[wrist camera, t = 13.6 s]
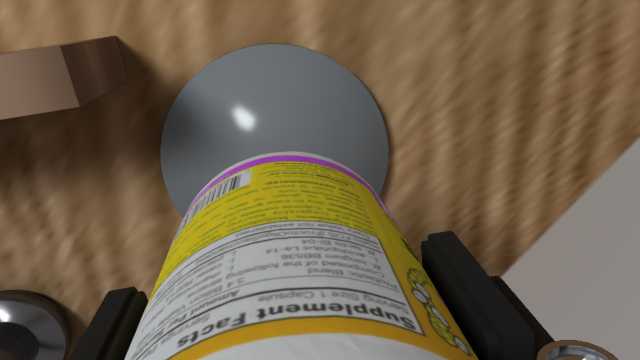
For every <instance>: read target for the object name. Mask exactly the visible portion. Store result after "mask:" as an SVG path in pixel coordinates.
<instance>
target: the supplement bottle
mask: <svg viewBox="0 0 640 360" xmlns="http://www.w3.org/2000/svg"><path fill="white" fill-rule="evenodd" d="M124 360H478V358H477V356H476V355H475V353H474V351H473V350H472V348H471V346H470V345H469V343H468V342H467V340H466V338H465V337H464V335H463V333H462V332H461V330H460V328H459V327H458V325H457V323H456V322H455V320H454V318H453V317H452V315H451V313H450V311H449V310H448V308H447V306H446V305H445V303H444V302H443V300H442V298H441V297H440V295H439V293H438V292H437V290H436V288H435V287H434V285H433V283H432V282H431V280H430V279H429V277H428V275H427V273H426V271H425V270H424V268H423V267H422V265H421V264H420V262H419V260H418V258H417V257H416V255H415V253H414V252H413V250H412V248H411V247H410V245H409V243H408V242H407V240H406V239H405V237H404V235H403V234H402V232H401V230H400V229H399V227H398V226H397V224H396V222H395V220H394V219H393V217H392V215H391V214H390V212H389V210H388V209H387V207H386V206H385V204H384V203H383V201H382V200H381V199H380V197H379V196H378V195H377V193H376V192H375V191H374V189H373V188H372V187H371V186H370V185H369V184H368V183H367V182H366V181H365V180H364V179H363V178H362V177H360V176H359V175H358V174H357V173H356V172H354V171H353V170H351V169H350V168H348V167H346V166H345V165H343V164H341V163H339V162H336V161H334V160H332V159H330V158H326V157H323V156H320V155H316V154H312V153H306V152H293V151H288V152H274V153H268V154H263V155H258V156H255V157H252V158H249V159H246V160H244V161H241V162H239V163H236V164H235V165H233V166H231V167H229V168H227V169H226V170H224V171H223V172H221V173H220V174H218V175H217V176H216V177H214V178H213V179H212V180H211V181H210V182H209V183H208V184H207V185H206V186H205V187H204V188H203V189H202V190H201V191H200V192H199V193H198V195H197V196H196V198H195V199H194V200H193V202H192V203H191V205H190V207H189V209H188V210H187V212H186V214H185V216H184V218H183V220H182V222H181V224H180V226H179V229H178V231H177V233H176V236H175V238H174V240H173V243H172V245H171V248H170V250H169V253H168V255H167V258H166V260H165V262H164V265H163V267H162V270H161V273H160V275H159V277H158V280H157V282H156V284H155V287H154V289H153V292H152V294H151V297H150V299H149V301H148V304H147V306H146V309H145V311H144V313H143V316H142V318H141V321H140V323H139V325H138V328H137V331H136V333H135V336H134V338H133V340H132V343H131V345H130V347H129V350H128V352H127V355H126V357H125V359H124Z"/></svg>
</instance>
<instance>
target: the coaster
mask: <svg viewBox="0 0 640 360" xmlns="http://www.w3.org/2000/svg"><path fill="white" fill-rule="evenodd" d="M288 151H293V152H306V153H312V154H316V155H320V156H323V157H326V158H330V159H332V160H334V161H336V162H339V163H341V164H343V165H345V166H346V167H348V168H350V169H351V170H353V171H354V172H356V173H357V174H358V175H359V176H360V177H362V178H363V179H364V180H365V181H366V182H367V183H368V184H369V185H370V186H371V187H372V188H373V189H374V191H375V192H376V193H377V195H378V196H380V193H381V190H382V188H383V185H384V182H385V178H386V174H387V168H388V158H389V152H388V139H387V133H386V128H385V125H384V121H383V118H382V115H381V113H380V111H379V109H378V106H377V104H376V102H375V101H374V99H373V98H372V96H371V94H370V93H369V91H368V90H367V89H366V88H365V86H364V85H363V84H362V83H361V82H360V81H359V79H358V78H357V77H355V76H354V75H353V74H352V73H351V72H350V71H349V70H348V69H346V68H345V67H344V66H342V65H341V64H339V63H338V62H336V61H335V60H333V59H332V58H330V57H328V56H326V55H323V54H321V53H319V52H317V51H314V50H311V49H308V48H305V47H301V46H295V45H290V44H275V43H270V44H259V45H253V46H248V47H244V48H240V49H237V50H235V51H232V52H230V53H227V54H225V55H223V56H221V57H219V58H217V59H216V60H214V61H212V62H211V63H209V64H208V65H207V66H205V67H204V68H203V69H201V70H200V71H199V72H198V73H197V74H196V75H195V76H194V77H193V78H192V79H191V80H190V81H189V82H188V83H187V84H186V85H185V86H184V88H183V89H182V90H181V92H180V93H179V94H178V96H177V97H176V99H175V101H174V103H173V105H172V106H171V108H170V110H169V113H168V116H167V118H166V121H165V124H164V128H163V133H162V137H161V149H160V157H161V169H162V174H163V179H164V183H165V185H166V188H167V191H168V194H169V196H170V198H171V200H172V202H173V204H174V206H175V208H176V209H177V210H178V212H179V213H180V215H181V216H182V218H184V216H185V214H186V212H187V210H188V209H189V207H190V205H191V203H192V202H193V200H194V199H195V198H196V196H197V195H198V193H199V192H200V191H201V190H202V189H203V188H204V187H205V186H206V185H207V184H208V183H209V182H210V181H211V180H212V179H213V178H214V177H216V176H217V175H218V174H220V173H221V172H223V171H224V170H226V169H227V168H229V167H231V166H233V165H235V164H236V163H239V162H241V161H244V160H246V159H249V158H252V157H255V156H258V155H263V154H268V153H274V152H288Z"/></svg>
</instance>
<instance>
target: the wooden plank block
mask: <svg viewBox="0 0 640 360" xmlns="http://www.w3.org/2000/svg"><path fill="white" fill-rule="evenodd" d="M126 82H128V78H127V74H126V71H125V67H124V64H123V60H122V57H121V53H120V50H119V46H118V43H117V39H116V36H111V37H104V38H98V39H91V40H85V41H78V42H72V43H65V44H59V45H52V46H46V47H39V48H33V49H27V50H20V51H14V52H7V53H1V54H0V120H1V119H8V118H14V117H20V116H26V115H32V114H39V113H45V112H51V111H57V110H63V109H70V108H76V107H80V106H82V105H84V104H86V103H88V102H90V101H92V100H94V99H96V98H97V97H99V96H101V95H103V94H105V93H107V92H109V91H111V90H113V89H115V88H116V87H118V86H120V85H122V84H124V83H126Z"/></svg>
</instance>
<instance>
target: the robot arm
mask: <svg viewBox="0 0 640 360" xmlns="http://www.w3.org/2000/svg"><path fill="white" fill-rule="evenodd" d="M421 251H422V264H423V268H424V270H425V271H426V273H427V275H428V277H429V279H430V280H431V282H432V283H433V285H434V287H435V288H436V290H437V292H438V293H439V295H440V297H441V298H442V300H443V302H444V303H445V305H446V306H447V308H448V310H449V311H450V313H451V315H452V317H453V318H454V320H455V322H456V323H457V325H458V327H459V328H460V330H461V332H462V333H463V335H464V337H465V338H466V340H467V342H468V343H469V345H470V346H471V348H472V350H473V351H474V353H475V355H476V356H477V358H478V360H618V359H617V358H616V357H615V356H614V355H613V354H611V353H609V352H608V351H606V350H604V349H603V348H601V347H599V346H596V345H593V344H591V343H588V342H583V341H577V340H560V341H554V340H553V338H552V337H551V336H550V335H549V334H548V332H547V331H546V330H545V329H544V328H543V327H542V325H541V324H540V323H539V322H538V321H537V320H536V318H535V317H534V316H533V315H532V314H531V312H529V310H528V309H527V308H526V307H525V305H524V304H523V303H522V302H521V301H520V300H519V299H518V297H517V296H516V295H515V294H514V293H513V292H512V290H511V289H510V288H509V287H508V285H507V284H506V283H505V282H504V281H503V280H502V279H501V278H500V277H499V276H491V277H489V276H488V275H487V273H486V272H485V271H484V270H483V268H482V267H481V266H480V265H479V264H478V262H477V261H476V260H475V259H474V257H473V256H472V255H471V254H470V252H469V251H468V250H467V249H466V247H465V246H464V245H463V244H462V243H461V241H460V240H459V239H458V238H457V236H456V235H455V234H454V233H453V232H452V231H446V232H440V233H434V234H429V235H428V241H422V243H421ZM147 304H148V299H147V296H146V294H145V293H144V292H143V291H140V292H138V291H137V289H136V288H135V287H129V288H123V289H118V290H112V291H109V292H108V293H107V295H106V297H105V298H104V300H103V302H102V304H101V305H100V307H99V309H98V311H97V312H96V314H95V316H94V318H93V319H92V321H91V323H90V325H89V326H88V328H87V330H86V332H85V333H84V335H83V337H82V339H81V340H80V342H79V344H78V346H77V347H76V349H75V351H74V353H73V354H72V356H71V358H70V359H69V360H124V359H125V357H126V355H127V352H128V350H129V347H130V345H131V343H132V340H133V338H134V336H135V333H136V331H137V328H138V325H139V323H140V321H141V318H142V316H143V313H144V311H145V309H146V306H147Z"/></svg>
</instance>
